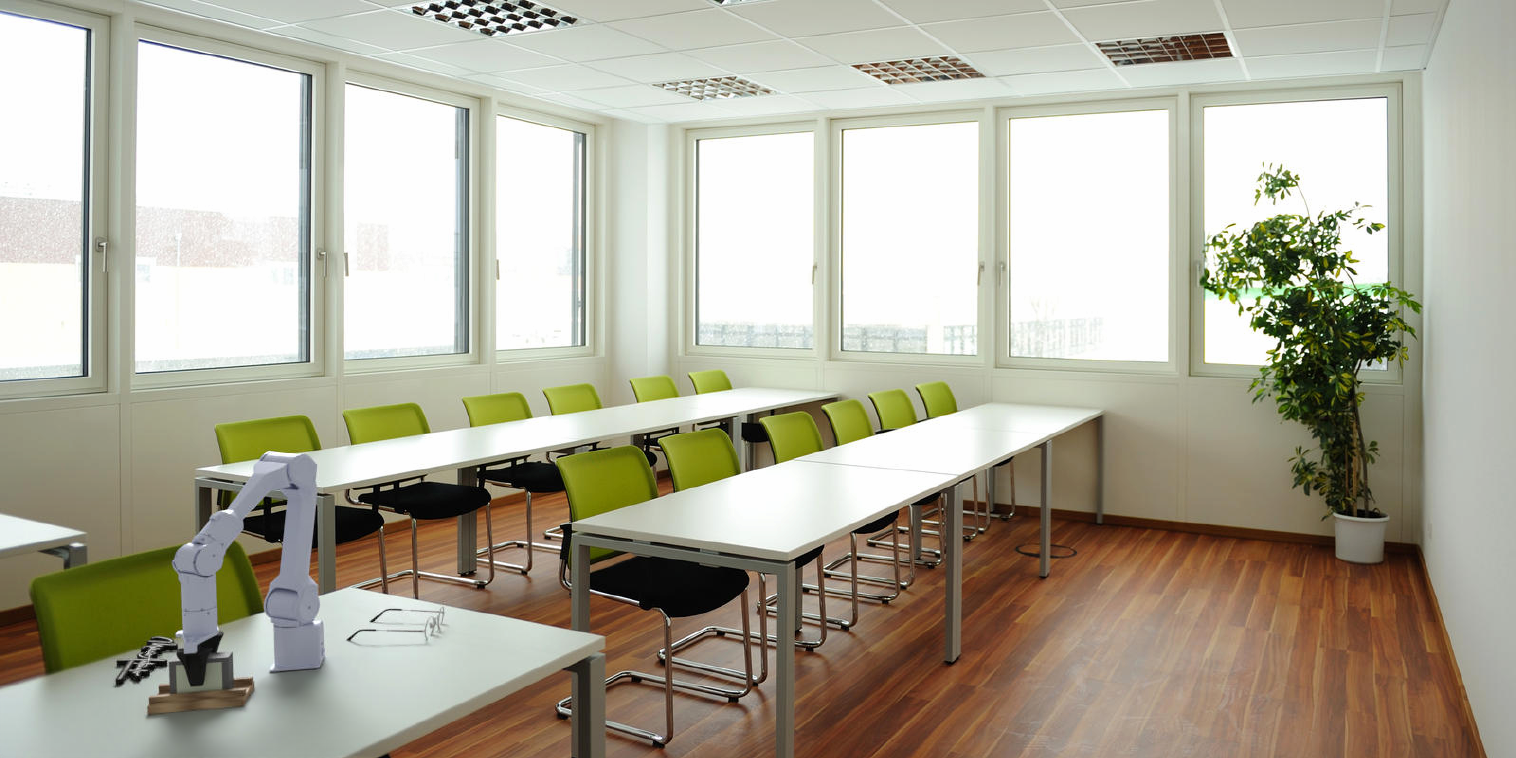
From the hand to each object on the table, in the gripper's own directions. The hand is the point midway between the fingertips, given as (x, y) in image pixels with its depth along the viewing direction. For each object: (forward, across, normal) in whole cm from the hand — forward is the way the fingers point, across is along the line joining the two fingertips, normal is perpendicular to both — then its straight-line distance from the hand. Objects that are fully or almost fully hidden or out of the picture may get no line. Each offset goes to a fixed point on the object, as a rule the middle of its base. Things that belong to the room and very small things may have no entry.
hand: (201, 678), depth 194 cm
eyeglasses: (+5, -35, +32) cm, 48 cm away
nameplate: (+5, -27, -17) cm, 32 cm away
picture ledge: (+4, 0, 0) cm, 4 cm away
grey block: (+3, 0, 0) cm, 3 cm away
